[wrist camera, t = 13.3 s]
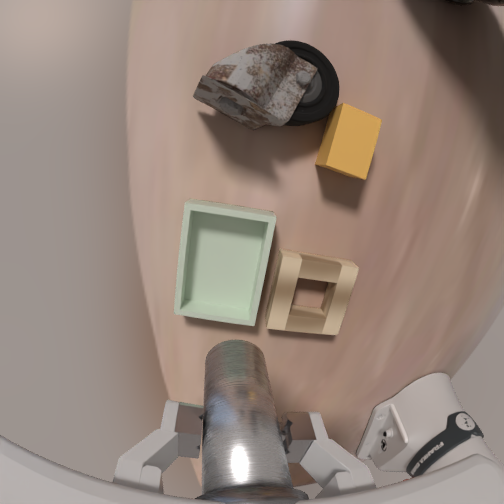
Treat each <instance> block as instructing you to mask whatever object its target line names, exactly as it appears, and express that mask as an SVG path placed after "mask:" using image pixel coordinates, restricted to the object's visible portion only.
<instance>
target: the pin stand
mask: <svg viewBox="0 0 504 504" xmlns="http://www.w3.org/2000/svg"><path fill="white" fill-rule="evenodd" d="M358 270H359V268H358V267H357V266H356V265H355V264H354V263H353V262H352V261H351V260H347V259H341V258H335V257H329V256H322V255H316V254H310V253H304V252H298V251H292V250H286V249H279V254H278V259H277V263H276V268H275V273H274V277H273V282H272V287H271V291H270V296H269V300H268V305H267V309H266V314H265V321H266V327H267V329H275V330H284V331H294V332H304V333H315V334H327V335H338V332H339V329H340V326H341V323H342V320H343V318H344V315H345V312H346V309H347V305H348V302H349V299H350V296H351V293H352V290H353V287H354V283H355V280H356V277H357V273H358ZM298 278H305V279H312V280H319V281H326V282H328V285H327V288H326V292H325V295H324V299H323V302H322V306H321V308H314V307H305V306H297V305H291V303H292V299H293V295H294V291H295V287H296V283H297V279H298Z"/></svg>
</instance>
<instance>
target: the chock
mask: <svg viewBox="0 0 504 504" xmlns="http://www.w3.org/2000/svg"><path fill="white" fill-rule="evenodd" d="M381 122H382V120H381V119H379V118H377V117H375V116H373V115H370V114H368V113H366V112H364V111H361V110H359V109H357V108H354V107H352V106H350V105H347V104H345V103H342V104H341V105H339V106H337V107H335V108H334V109H333V110H332V112H331V113H330V114H329V117H328V121H327V125H326V128H325V132H324V135H323V139H322V142H321V145H320V149H319V152H318V156H317V159H316V162H315V165H318V166H321V167H324V168H327V169H330V170H332V171H335V172H338V173H341V174H343V175H346V176H349V177H353V178H358V179H364V180H366V177H367V173H368V170H369V167H370V163H371V160H372V156H373V153H374V149H375V145H376V142H377V138H378V134H379V130H380V126H381Z"/></svg>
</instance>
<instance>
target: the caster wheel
mask: <svg viewBox="0 0 504 504" xmlns="http://www.w3.org/2000/svg"><path fill="white" fill-rule="evenodd" d="M193 97H194V98H195V99H197V100H199V101H201V102H203V103H204V104H206V105H208V106H210V107H212V108H214V109H216V110H218V111H220V112H221V113H223V114H225V115H227V116H229V117H231V118H232V119H234V120H236V121H238V122H239V123H241V124H243V125H245V126H246V127H248V128H250V129H252V130H254V129H257V128H259V127H261V126H264V125H266V124H268V125H273V126H278V127H279V126H282V125H289V126H300V125H305V124H308V123H312V122H316V121H318V120H321V119H323V118H324V117H326V116H327V115H328V114H329V113H331V112H332V110H333V109H334V107H335V106H336V103H337V100H338V97H339V81H338V77H337V74H336V71H335V69H334V67H333V66H332V64H331V63H330V61H329V60H328V59H327V58H326V56H325V55H323V54H322V53H321V52H320V51H319V50H317V49H316V48H314V47H313V46H310V45H308V44H306V43H303V42H299V41H282V42H278V43H276V44H262V45H256V46H252V47H249V48H246V49H243V50H241V51H238V52H236V53H234V54H232V55H230V56H228V57H226V58H224V59H222V60H220V61H219V62H217V63H215V64H214V65H213V66H212V67H211V69H210V70H209V72H208V73H207V75H206V76H202V78H201V80H200V82H199V84H198V86H197V89H196V91H195V93H194V95H193Z"/></svg>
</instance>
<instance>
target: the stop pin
mask: <svg viewBox="0 0 504 504" xmlns="http://www.w3.org/2000/svg"><path fill="white" fill-rule="evenodd" d="M195 499H201V500H212V501H219V502H223V503H225V504H296V503H297V502H298V501H300V500H309V498H308V495H307V494H306V493H305V492H303V491H300V490H297V489H293V485H292V481H291V476H290V472H289V467H288V463H287V459H286V454H285V450H284V445H283V441H282V436H281V432H280V427H279V423H278V418H277V413H276V409H275V404H274V400H273V395H272V390H271V386H270V381H269V377H268V372H267V367H266V363H265V358H264V355H263V353H262V351H261V350H260V349H259V348H258V347H257V346H256V345H254V344H252V343H250V342H248V341H244V340H228V341H224V342H221V343H219V344H217V345H216V346H214V347H213V348H212V349H211V350H210V351H209V353H208V354H207V357H206V361H205V382H204V408H203V439H202V495H201V496H199V497H197V498H195Z"/></svg>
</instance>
